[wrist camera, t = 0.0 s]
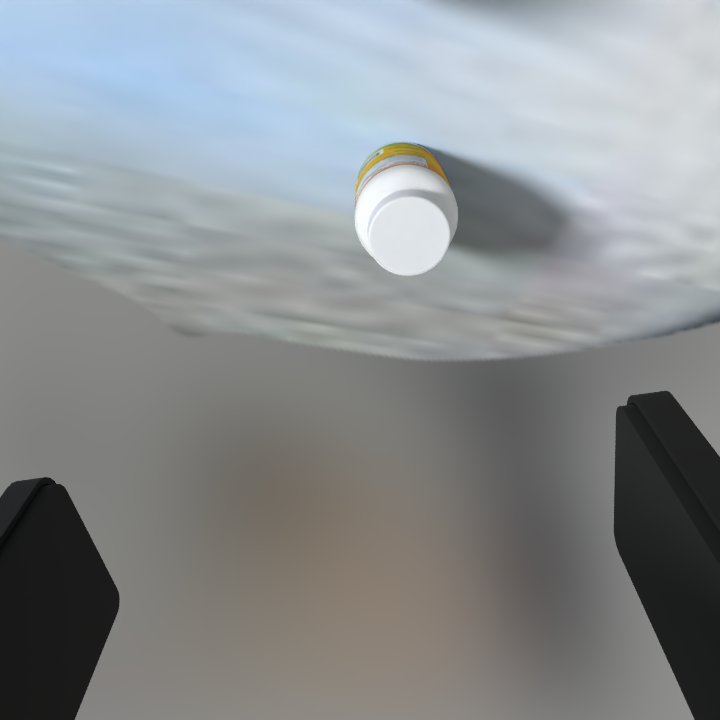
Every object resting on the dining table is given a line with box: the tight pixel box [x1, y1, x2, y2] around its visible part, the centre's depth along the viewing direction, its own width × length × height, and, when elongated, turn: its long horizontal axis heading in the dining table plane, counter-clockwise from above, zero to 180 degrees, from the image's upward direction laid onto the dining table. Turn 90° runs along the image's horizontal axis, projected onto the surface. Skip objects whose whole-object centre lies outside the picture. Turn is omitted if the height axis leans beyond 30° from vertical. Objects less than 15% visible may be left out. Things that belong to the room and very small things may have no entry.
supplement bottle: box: [355, 142, 458, 276], centre depth 35 cm, size 5×5×10 cm
